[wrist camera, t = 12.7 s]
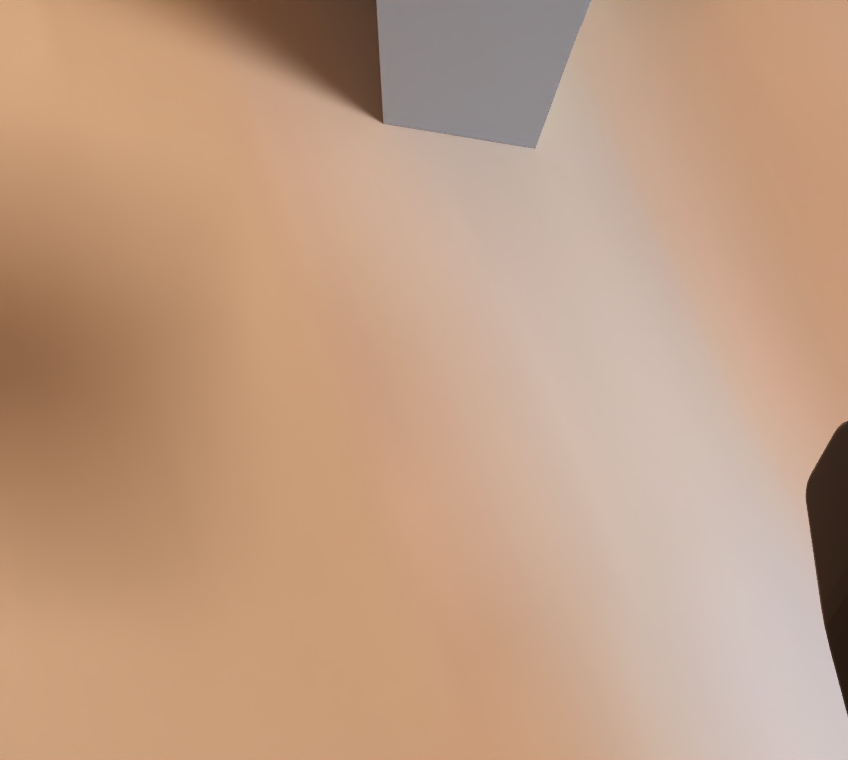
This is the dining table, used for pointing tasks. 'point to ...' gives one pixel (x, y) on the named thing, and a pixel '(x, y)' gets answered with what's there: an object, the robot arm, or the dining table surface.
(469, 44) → the tall grey prism
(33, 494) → the dining table surface
